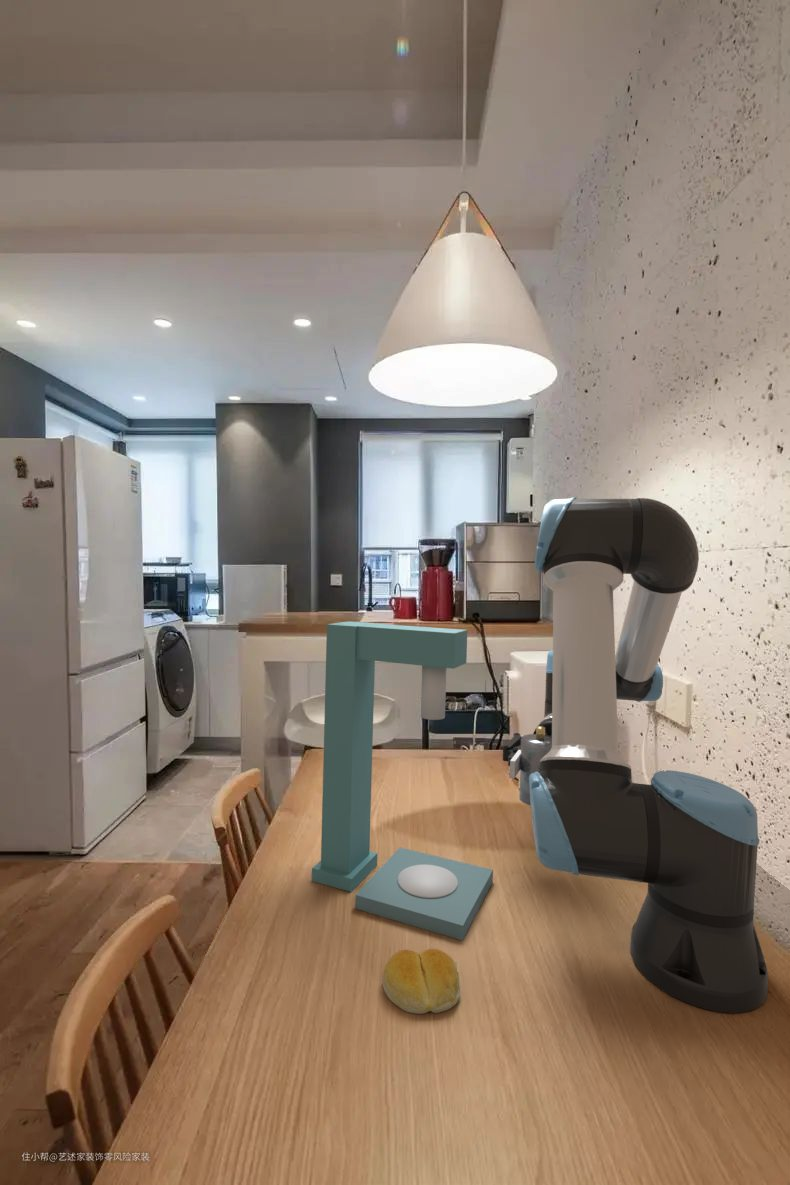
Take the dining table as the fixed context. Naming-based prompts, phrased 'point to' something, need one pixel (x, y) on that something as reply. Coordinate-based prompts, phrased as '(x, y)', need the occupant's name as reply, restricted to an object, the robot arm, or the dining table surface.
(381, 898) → the arbor press
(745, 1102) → the dining table surface
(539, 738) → the cylinder
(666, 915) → the robot arm
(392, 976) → the bread roll
